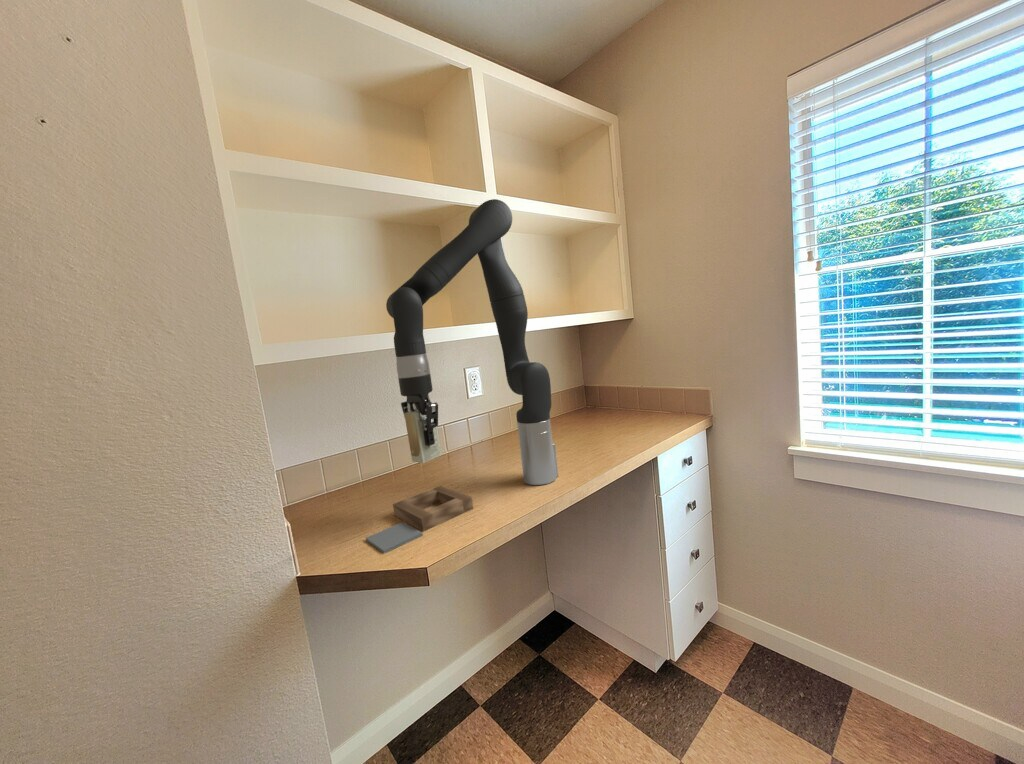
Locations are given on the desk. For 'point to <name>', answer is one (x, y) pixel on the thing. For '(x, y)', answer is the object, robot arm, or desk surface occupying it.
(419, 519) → the collar
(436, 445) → the skincare box
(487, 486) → the desk surface
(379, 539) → the mat
